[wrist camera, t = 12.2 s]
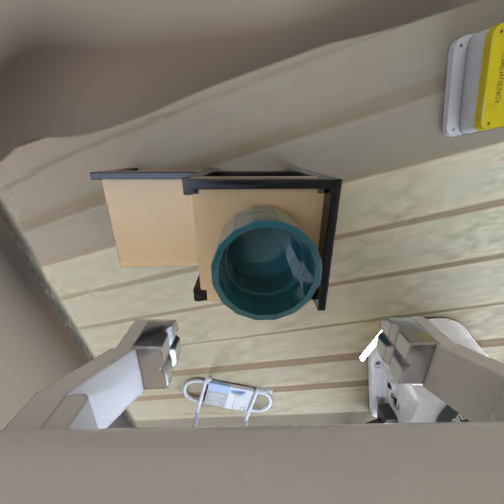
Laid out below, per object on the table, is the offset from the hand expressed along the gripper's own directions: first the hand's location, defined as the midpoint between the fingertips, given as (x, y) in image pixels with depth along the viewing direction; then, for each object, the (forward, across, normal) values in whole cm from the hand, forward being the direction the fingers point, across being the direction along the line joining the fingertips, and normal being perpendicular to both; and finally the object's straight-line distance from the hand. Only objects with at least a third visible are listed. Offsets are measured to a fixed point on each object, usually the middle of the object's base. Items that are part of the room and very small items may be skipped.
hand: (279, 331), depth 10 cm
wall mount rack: (+24, +4, +30) cm, 38 cm away
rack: (+23, +5, 0) cm, 23 cm away
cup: (+10, 0, 0) cm, 10 cm away
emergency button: (+23, -28, -15) cm, 39 cm away
